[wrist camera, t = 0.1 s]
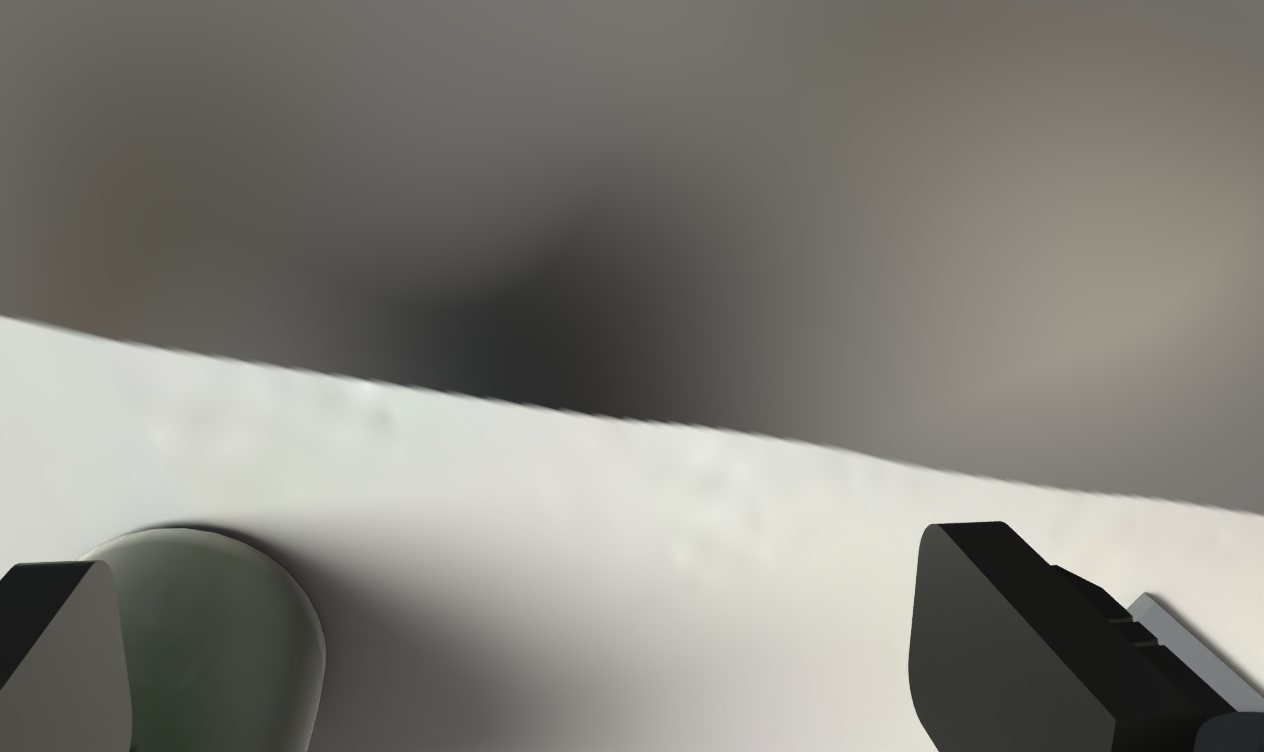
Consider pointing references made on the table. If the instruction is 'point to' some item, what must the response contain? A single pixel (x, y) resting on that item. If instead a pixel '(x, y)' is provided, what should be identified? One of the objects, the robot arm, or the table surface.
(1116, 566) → the table surface
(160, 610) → the beer bottle
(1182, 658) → the slate board
